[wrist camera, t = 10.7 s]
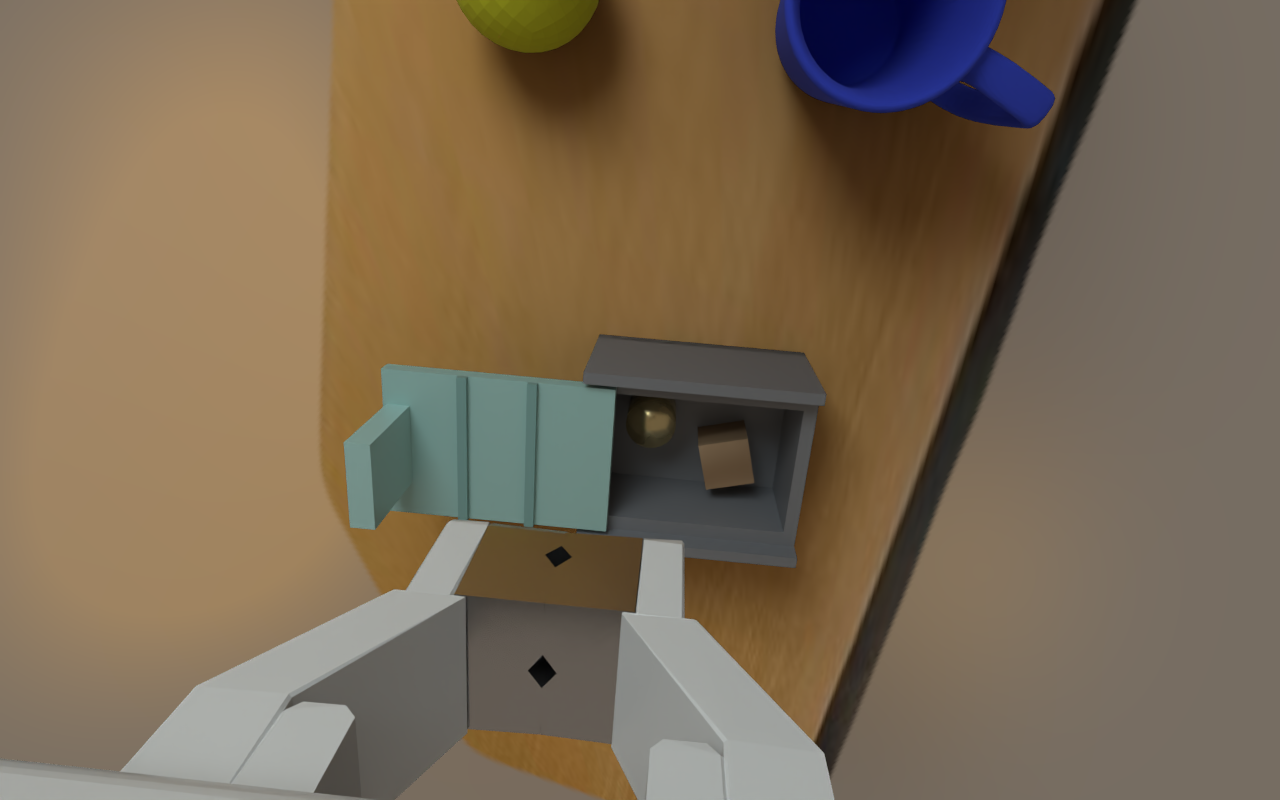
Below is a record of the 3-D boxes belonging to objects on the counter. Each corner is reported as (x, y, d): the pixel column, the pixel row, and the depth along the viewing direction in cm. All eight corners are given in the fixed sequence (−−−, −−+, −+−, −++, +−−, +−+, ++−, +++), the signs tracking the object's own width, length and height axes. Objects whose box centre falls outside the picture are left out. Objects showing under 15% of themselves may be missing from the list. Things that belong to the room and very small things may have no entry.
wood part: (697, 427, 43) (698, 446, 41) (744, 420, 43) (747, 438, 40) (704, 468, 44) (706, 489, 42) (750, 462, 44) (754, 482, 41)
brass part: (631, 383, 43) (627, 400, 40) (678, 387, 42) (677, 403, 40) (628, 426, 44) (624, 445, 41) (674, 430, 43) (673, 449, 41)
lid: (387, 363, 37) (336, 403, 32) (617, 384, 37) (605, 428, 32) (394, 503, 40) (348, 561, 35) (607, 524, 40) (595, 585, 34)
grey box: (599, 334, 42) (583, 372, 36) (803, 352, 42) (826, 394, 35) (590, 485, 46) (574, 546, 39) (779, 503, 45) (795, 568, 39)
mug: (915, 189, 38) (988, 207, 29) (727, 59, 37) (742, 35, 28) (1021, 43, 36) (1140, 12, 26) (824, -103, 34) (877, -192, 25)
